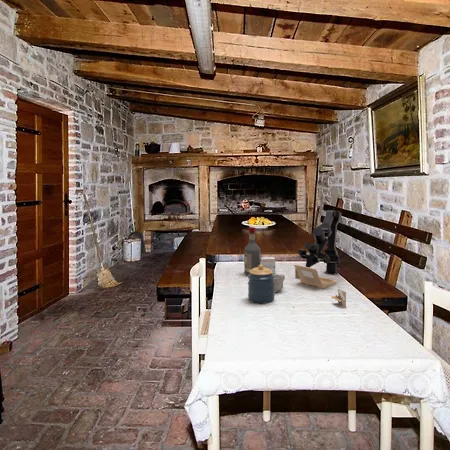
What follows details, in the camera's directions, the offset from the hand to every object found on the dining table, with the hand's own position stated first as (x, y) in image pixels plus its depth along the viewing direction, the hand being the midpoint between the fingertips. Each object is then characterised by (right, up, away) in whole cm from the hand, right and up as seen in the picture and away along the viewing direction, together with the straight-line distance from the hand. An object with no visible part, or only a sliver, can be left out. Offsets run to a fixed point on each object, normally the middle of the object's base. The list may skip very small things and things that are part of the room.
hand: (306, 268), depth 186 cm
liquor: (-27, -8, +29) cm, 41 cm away
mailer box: (+8, -9, +7) cm, 15 cm away
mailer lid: (+1, -3, +1) cm, 4 cm away
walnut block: (+1, -8, +19) cm, 21 cm away
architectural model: (+9, -14, -28) cm, 33 cm away
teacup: (-17, -11, -3) cm, 21 cm away
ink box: (-18, -8, +24) cm, 31 cm away
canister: (-27, -13, -18) cm, 35 cm away
